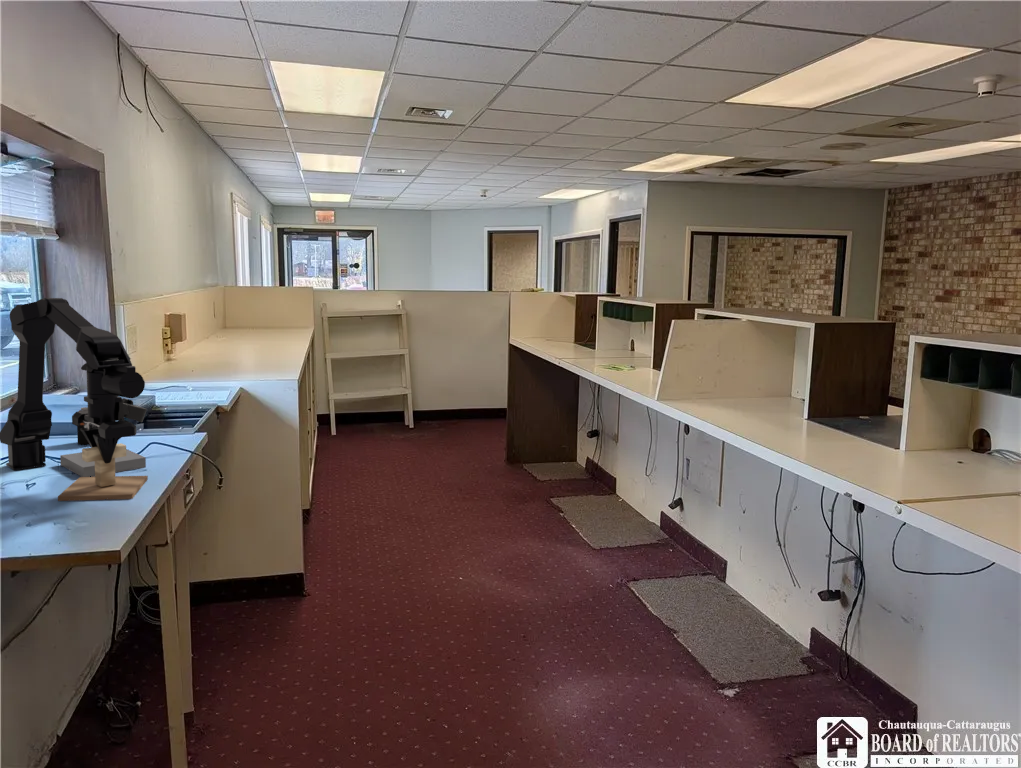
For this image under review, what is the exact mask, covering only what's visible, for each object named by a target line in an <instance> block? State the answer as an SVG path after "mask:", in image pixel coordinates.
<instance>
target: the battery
mask: <svg viewBox="0 0 1021 768" xmlns="http://www.w3.org/2000/svg"><path fill="white" fill-rule="evenodd" d="M78 411H88V406H86V407H85V406H84V407H80V409H79V410H78ZM81 428H84V423H81V424H80V426H76V431H77V432H76V433H77V434H76V435H77V436H76V437H77V444H78V446H87V445H89V446H90V444H89V443H88V441H87V439H86V438H85V436H84V434H83V433H82V431H81V430H80V429H81Z"/></svg>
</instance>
